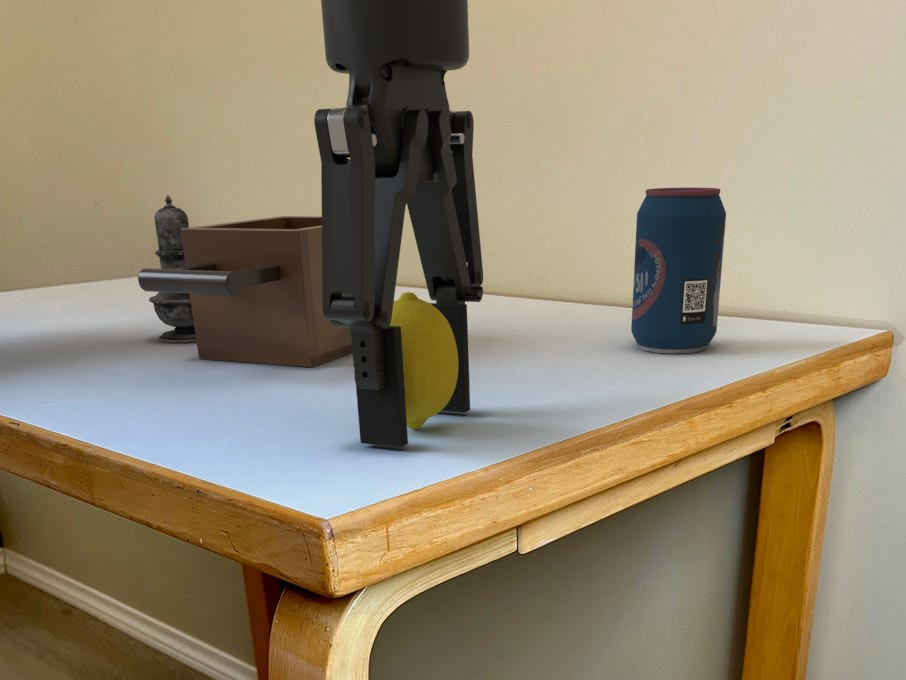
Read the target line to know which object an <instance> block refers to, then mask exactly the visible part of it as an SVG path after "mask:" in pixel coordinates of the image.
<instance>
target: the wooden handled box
mask: <svg viewBox="0 0 906 680" xmlns="http://www.w3.org/2000/svg"><path fill="white" fill-rule="evenodd" d="M181 236H182V243H183V250H184V257H185V264H186V267H182V268H176V269H161V268H148V267H147V268H146V267H144V268H142V269H140V271H139V273H138V276H137V281H138V285H139V287H140V288H141V290H143V291H144V292H150V293H151V292H152V293H158V292H171V293H190V299H191V306H192V313H193V320H194V327H195V334H196V341H197V342H196V347H197V355H198V359H199V360H207V361H210V360H211V361H222V362H234V363H247V364H249V363H250V364H262V365H275V366H289V367H300V368H301V367H302V368H314V367H316V366H320V365H322V364H324V363H328V362H331V361H333V360H337V359H339V358H342V357H345V356H348V355H350V354H353V351H352V339H351V332H350V329H349V327H337V326H333V325H332V323H331V321H330V320H328V319H326V318H325V316H324V313H323V307H322V215H321V216H319V215H318V216H316V215H315V216H314V215H313V216H312V215H311V216H310V215H306V216H305V215H302V216H301V215H300V216H299V215H294V216H293V215H280V216H272V217H265V218H263V217H262V218H256V219H255V218H254V219H247V220H241V221H232V222H231V221H230V222H224V223H218V224H217V223H216V224H215V223H214V224H206V225H199V226H192V227H191V226H189V228H182V229H181ZM342 296H344V293H342ZM374 303H375V300H374Z"/></svg>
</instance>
